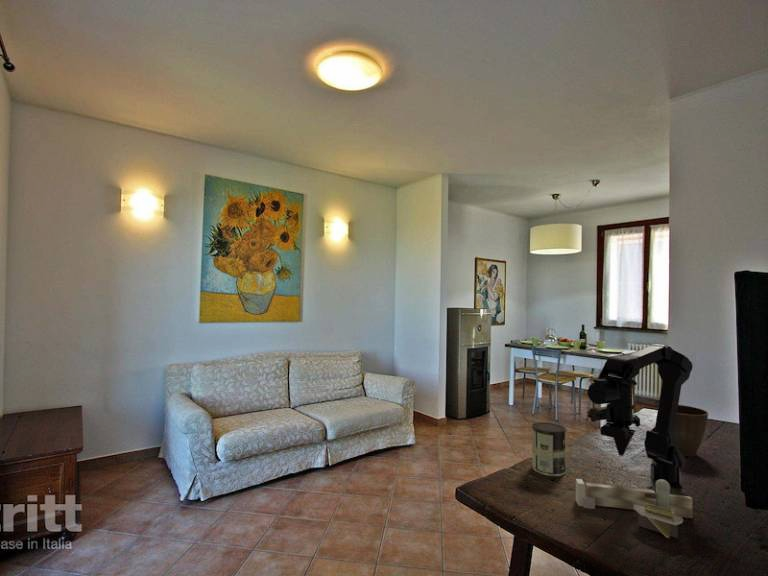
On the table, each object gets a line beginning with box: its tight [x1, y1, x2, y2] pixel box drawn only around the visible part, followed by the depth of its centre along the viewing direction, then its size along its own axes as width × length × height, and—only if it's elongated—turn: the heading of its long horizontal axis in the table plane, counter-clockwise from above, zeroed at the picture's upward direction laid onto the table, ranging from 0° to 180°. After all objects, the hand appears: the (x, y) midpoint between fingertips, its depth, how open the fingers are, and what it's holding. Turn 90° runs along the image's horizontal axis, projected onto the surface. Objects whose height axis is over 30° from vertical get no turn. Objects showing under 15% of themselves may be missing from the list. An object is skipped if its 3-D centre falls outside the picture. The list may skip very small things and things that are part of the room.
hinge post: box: [655, 479, 671, 511], centre depth 105 cm, size 3×3×9 cm
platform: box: [633, 503, 684, 539], centre depth 96 cm, size 12×18×7 cm, turn 51°
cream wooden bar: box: [585, 482, 656, 511], centre depth 108 cm, size 17×2×5 cm, turn 77°
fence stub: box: [670, 493, 694, 519], centre depth 104 cm, size 5×1×5 cm, turn 76°
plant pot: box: [674, 404, 709, 457], centre depth 148 cm, size 15×15×16 cm
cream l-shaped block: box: [575, 478, 596, 510], centre depth 109 cm, size 4×4×6 cm
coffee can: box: [531, 421, 567, 477], centre depth 132 cm, size 10×10×14 cm
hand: (621, 454), depth 116 cm, fingers closed
